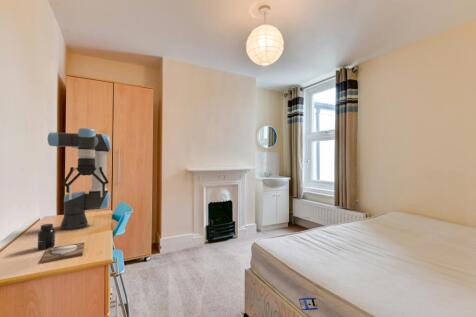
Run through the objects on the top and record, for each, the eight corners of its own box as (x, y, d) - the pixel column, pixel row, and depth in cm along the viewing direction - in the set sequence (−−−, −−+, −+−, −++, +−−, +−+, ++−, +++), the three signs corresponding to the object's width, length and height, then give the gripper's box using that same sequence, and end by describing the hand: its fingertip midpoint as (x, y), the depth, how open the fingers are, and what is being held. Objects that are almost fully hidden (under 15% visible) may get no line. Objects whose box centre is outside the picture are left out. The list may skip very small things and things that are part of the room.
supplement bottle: (35, 251, 110) (35, 227, 110) (40, 246, 117) (41, 223, 117) (52, 249, 113) (52, 225, 113) (56, 244, 119) (57, 222, 119)
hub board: (48, 250, 111) (48, 246, 111) (84, 244, 119) (84, 240, 119) (41, 263, 98) (41, 258, 98) (82, 255, 106) (82, 251, 106)
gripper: (55, 157, 106) (54, 201, 106) (114, 158, 120) (113, 196, 120) (57, 157, 113) (56, 198, 113) (113, 157, 127) (112, 194, 127)
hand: (86, 197), depth 117 cm, fingers open, 13 cm apart
